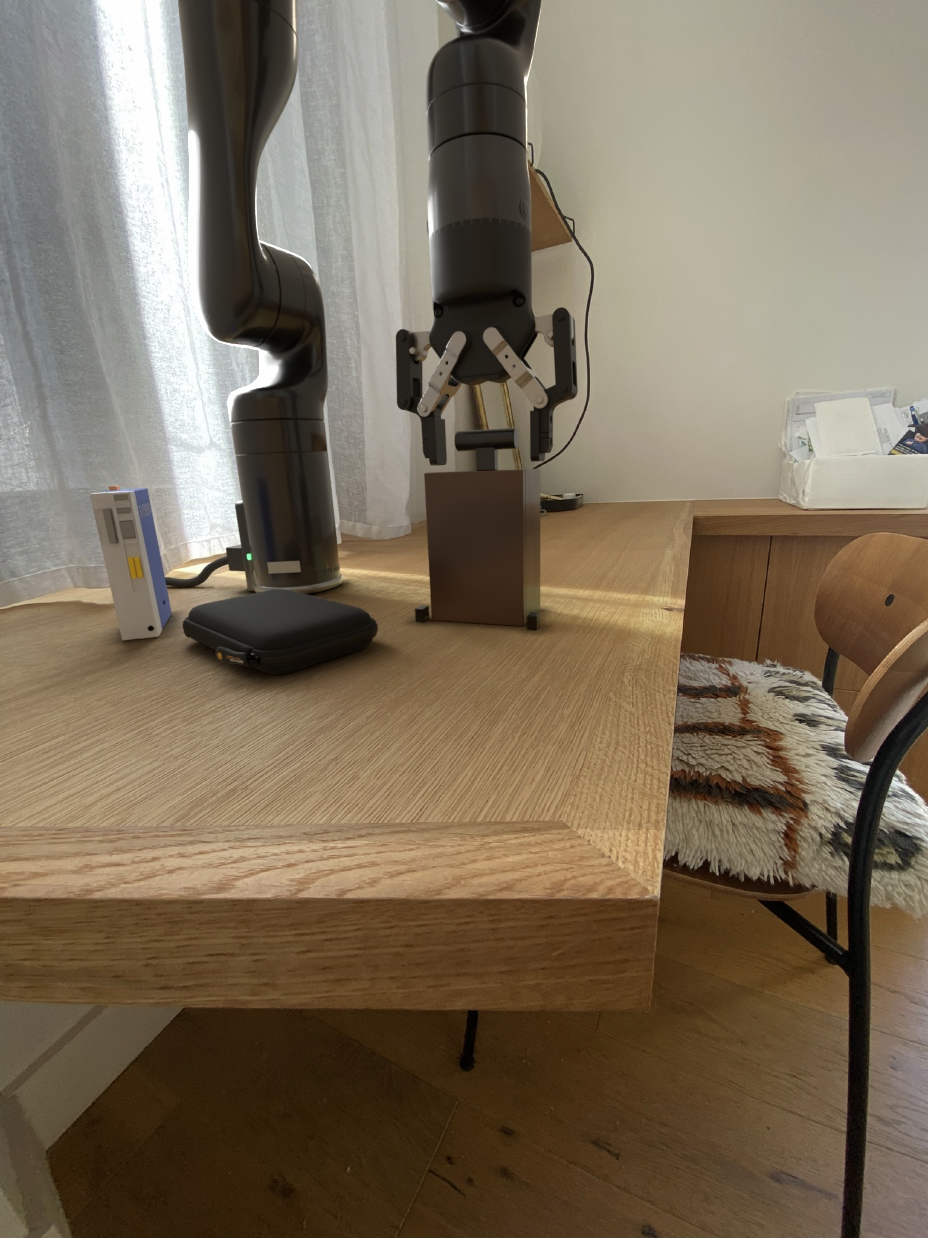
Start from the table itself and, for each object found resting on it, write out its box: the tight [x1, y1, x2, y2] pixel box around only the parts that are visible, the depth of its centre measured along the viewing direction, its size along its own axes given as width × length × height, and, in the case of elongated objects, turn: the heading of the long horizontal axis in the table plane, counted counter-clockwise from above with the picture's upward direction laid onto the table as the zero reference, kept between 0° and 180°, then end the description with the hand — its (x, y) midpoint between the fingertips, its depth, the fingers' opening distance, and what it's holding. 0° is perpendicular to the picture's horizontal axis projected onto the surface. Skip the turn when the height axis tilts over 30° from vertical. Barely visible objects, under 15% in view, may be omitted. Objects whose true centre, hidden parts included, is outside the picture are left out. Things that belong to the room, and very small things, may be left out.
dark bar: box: [414, 604, 541, 631], centre depth 45 cm, size 10×1×1 cm, turn 70°
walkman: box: [89, 485, 173, 641], centre depth 47 cm, size 8×3×12 cm, turn 20°
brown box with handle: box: [423, 427, 541, 627], centre depth 46 cm, size 15×8×6 cm
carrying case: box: [182, 589, 379, 675], centre depth 41 cm, size 11×3×15 cm
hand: (486, 463), depth 45 cm, fingers open, 8 cm apart
